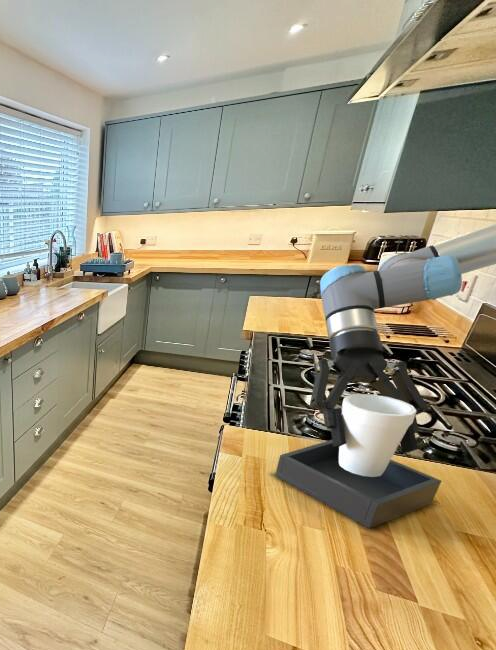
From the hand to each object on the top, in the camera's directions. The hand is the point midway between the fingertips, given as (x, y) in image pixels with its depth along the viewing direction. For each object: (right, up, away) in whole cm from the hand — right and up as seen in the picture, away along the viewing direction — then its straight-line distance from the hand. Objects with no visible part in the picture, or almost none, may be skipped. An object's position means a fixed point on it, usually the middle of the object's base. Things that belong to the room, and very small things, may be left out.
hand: (374, 447), depth 74 cm
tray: (+1, -9, +7) cm, 11 cm away
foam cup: (+1, -4, +4) cm, 6 cm away
